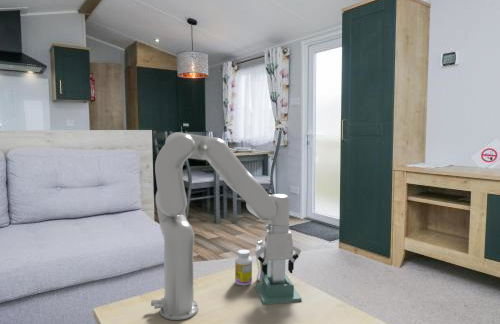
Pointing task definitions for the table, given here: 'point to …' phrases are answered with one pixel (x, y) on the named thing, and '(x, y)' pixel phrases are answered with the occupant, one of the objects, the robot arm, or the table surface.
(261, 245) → the beer glass
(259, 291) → the well
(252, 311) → the table surface
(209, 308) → the table surface
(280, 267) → the silver square block
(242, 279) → the supplement bottle
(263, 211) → the robot arm
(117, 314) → the table surface
